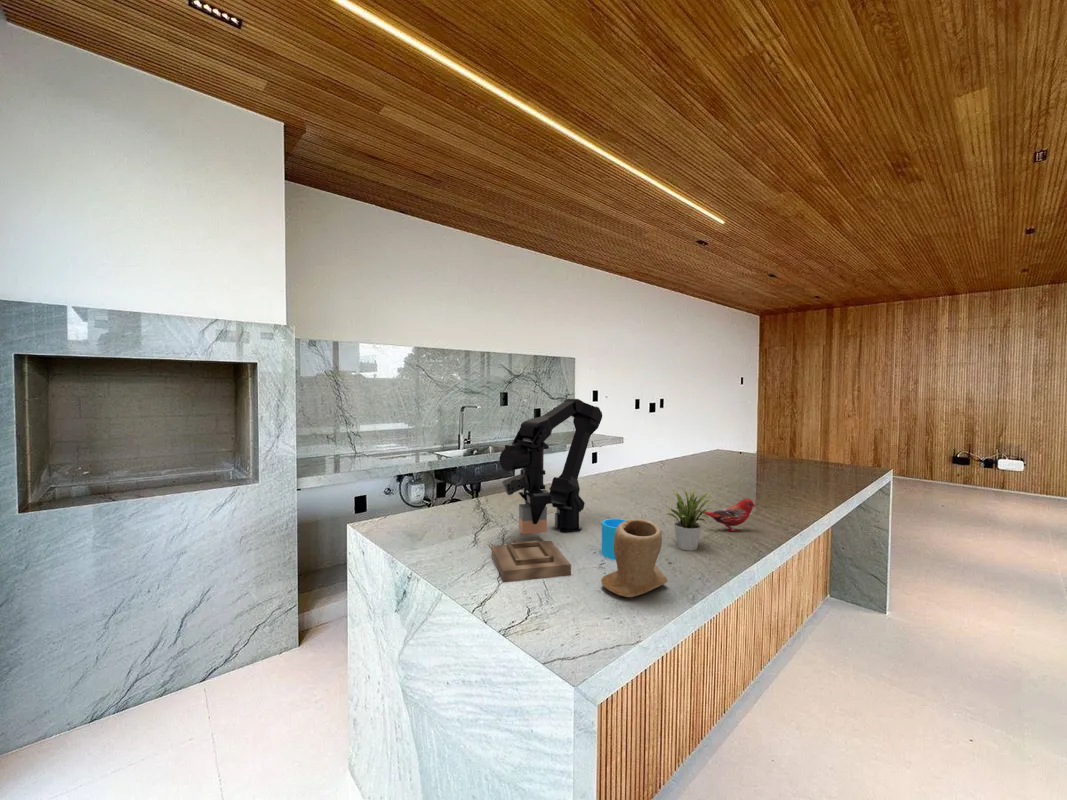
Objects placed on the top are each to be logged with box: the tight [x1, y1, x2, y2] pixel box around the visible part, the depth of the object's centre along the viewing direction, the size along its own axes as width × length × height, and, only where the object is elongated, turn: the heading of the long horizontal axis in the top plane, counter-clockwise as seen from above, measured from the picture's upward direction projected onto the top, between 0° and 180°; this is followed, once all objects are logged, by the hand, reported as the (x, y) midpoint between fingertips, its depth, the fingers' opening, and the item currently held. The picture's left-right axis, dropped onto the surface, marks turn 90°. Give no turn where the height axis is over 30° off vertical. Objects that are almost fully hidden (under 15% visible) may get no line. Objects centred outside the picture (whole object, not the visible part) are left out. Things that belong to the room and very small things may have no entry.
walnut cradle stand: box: [491, 540, 572, 583], centre depth 113 cm, size 16×16×4 cm
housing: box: [518, 503, 548, 534], centre depth 130 cm, size 7×4×7 cm, turn 104°
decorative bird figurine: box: [699, 498, 756, 532], centre depth 140 cm, size 3×18×10 cm, turn 89°
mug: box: [601, 518, 627, 561], centre depth 122 cm, size 12×8×8 cm
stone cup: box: [600, 518, 669, 598], centre depth 101 cm, size 15×12×15 cm
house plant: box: [664, 487, 716, 552], centre depth 125 cm, size 14×14×16 cm
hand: (532, 521), depth 130 cm, fingers closed on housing, 4 cm apart
